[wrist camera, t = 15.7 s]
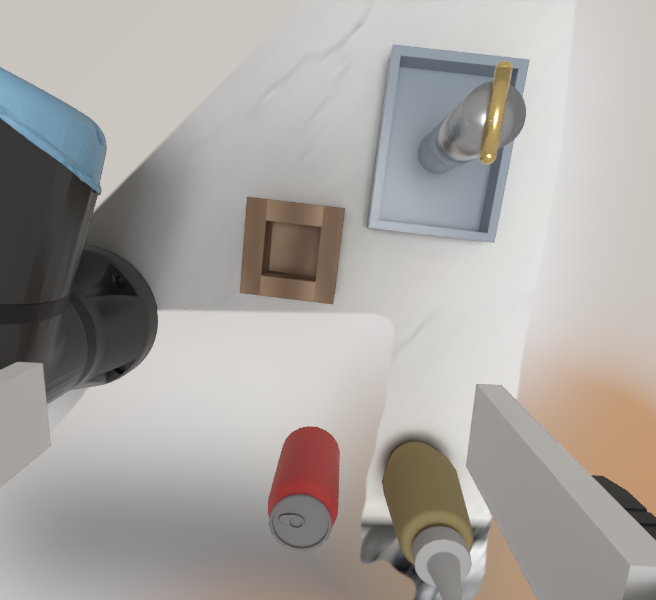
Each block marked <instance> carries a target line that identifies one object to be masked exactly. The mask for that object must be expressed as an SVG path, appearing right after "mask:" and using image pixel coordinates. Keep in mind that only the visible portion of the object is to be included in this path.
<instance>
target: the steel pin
mask: <svg viewBox="0 0 656 600" xmlns="http://www.w3.org/2000/svg"><path fill="white" fill-rule="evenodd" d="M511 75H512V64H511V63H510V62H509V61H506V60H505V61H501V62H499V63H498V64H497V66H496V67H495V71H494V77H493V81H490V82H486V83H483V84H481V85H479V86H478V87H476V88H475V89H474V90H473V91H472V92H471V93H470V94H469V95H468V96H467V97H466V98H465V99H464V100H463V101H462V102H461V103H460V104H458V105H457V106H456V107H455V108H454V109H453V110H452V111H451V112H450V113H449V114H448V115H447V116H446V117H445V118H444V119H443V120H442V121H441V122H440V123H439V124H438V125H437V126H436V127H435V128H434V129H433V130H432V131H431V132H430V133H429V134H428V135H427V136H426V137H425V138H424V139H423V141H422V142H421V144H420V146H419V150H418V157H419V161H420V163H421V165H422V167H423V168H424V169H425V170H427V171H428V172H430V173H433V174H442V173H445V172H448V171H450V170H452V169H454V168H457V167H459V166H461V165H463V164H465V163H468V162H470V161H472V160H474V159H477V158H479V159H480V161H481V162H482V163H483V164H486V165H488V164H491V163H493V162H494V161H495V159H496V155H497V150H498V149H499V148H501V147H503V146H505V145H507V144H509V143H510V142H512V141H513V140H514V139H515V138H516V137H517V136H518V134H519V133H520V131H521V129H522V127H523V125H524V122H525V116H526V108H525V103H524V100H523V98H522V96H521V94H520V93H519V91H518V90H517V89H516V88H515V87H513V86H512V85H510V80H511Z"/></svg>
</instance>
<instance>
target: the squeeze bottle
mask: <svg viewBox="0 0 656 600" xmlns="http://www.w3.org/2000/svg"><path fill="white" fill-rule="evenodd" d="M382 484H383V490H384V495H385V499H386V502H387V505H388V509H389V512H390V515H391V518H392V522H393V525H394V528H395V532H396V535H397V538H398V542H399V545H400V548H401V551H402V552H403V554H404V555H405V557H406V558H407V560H408V561H409V562H411V563H412V564H414V565H415V570H416V572H417V574H418V575H419V577H420V578H421V580H423V581H425V582H426V583H428V584H429V585H432V586H436V587H437V589H438V591H439V593H440V595H441V597H442V599H443V600H462V588H461V581H462V580H463V579H464V578H465V577H466V576H467V575H468V574H469V571H470V568H471V565H472V564H471V557H470V550H471V547H472V544H473V535H472V528H471V524H470V521H469V517H468V513H467V509H466V506H465V502H464V498H463V494H462V491H461V487H460V483H459V479H458V476H457V472H456V470H455V468H454V467H453V465H452V464H451V462H450V461H449V459H447V458H446V457H445V456H443V455H442V454H441V453H439V452H438V451H437V450H435V449H434V448H433V447H431V446H430V445H428V444H427V443H423V442H419V441H412V442H406V443H404V444H402V445H400V446H399V447H397V448H396V449H395V451H394V452H393V453H392V454H391V457H390V459H389V461H388V464H387V466H386V468H385V472H384V476H383V479H382Z"/></svg>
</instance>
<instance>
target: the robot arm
mask: <svg viewBox="0 0 656 600" xmlns="http://www.w3.org/2000/svg"><path fill="white" fill-rule="evenodd" d="M105 154H106V140H105V137H104V134H103V132H102V131H101V129H100V128H99V126H98V125H97V124H96V123H95V122H94V121H93V120H91V119H90V118H89V117H88V116H86V115H84V114H83V113H81V112H80V111H78V110H77V109H75V108H73V107H72V106H70V105H68V104H67V103H65V102H63V101H61V100H60V99H58V98H56V97H54V96H53V95H51V94H49V93H47V92H45V91H44V90H42V89H40V88H38V87H36V86H35V85H33V84H31V83H29V82H27V81H25V80H23V79H22V78H20V77H18V76H16V75H14V74H12V73H10V72H8V71H6V70H4V69H3V68H1V67H0V487H1V486H2V485H3V484H5V483H6V482H7V481H8V480H10V479H11V478H12V477H13V476H15V475H16V474H17V473H18V472H19V471H21V470H22V469H23V468H24V467H26V466H27V465H28V464H29V463H30V462H31V461H33V460H34V459H35V458H37V457H38V456H39V455H40V454H41V453H43V452H44V451H45V450H46V449H47V448H49V447H50V446H51V444H50V433H49V423H48V413H47V404H48V403H50V402H51V401H53V400H55V399H56V398H58V397H59V396H61V395H63V394H64V393H66V392H67V391H69V390H72V389H79V388H86V387H92V386H98V385H103V384H107V383H110V382H112V381H114V380H117V379H119V378H120V377H122V376H124V375H125V374H127V373H128V372H130V371H131V370H133V369H134V368H135V367H137V366H138V365H139V364H140V363H141V362H142V361H143V360H144V358H145V357H146V356H147V355H148V353H149V351H150V350H151V348H152V346H153V343H154V341H155V337H156V333H157V324H158V316H157V308H156V304H155V300H154V297H153V295H152V292H151V290H150V288H149V286H148V285H147V283H146V281H145V280H144V279H143V277H142V276H141V275H140V273H139V272H138V271H137V270H136V269H135V268H134V267H133V266H132V265H131V264H129V263H128V262H127V261H125V260H124V259H122V258H121V257H119V256H118V255H116V254H114V253H112V252H109V251H107V250H103V249H100V248H96V247H88V246H84V244H85V240H86V237H87V233H88V229H89V226H90V222H91V218H92V214H93V211H94V207H95V203H96V199H97V196H98V195H100V194H101V187H100V185H99V184H100V179H101V174H102V169H103V165H104V159H105ZM466 467H467V469H468V471H469V472H470V474H471V476H472V478H473V480H474V482H475V484H476V486H477V488H478V489H479V491H480V493H481V495H482V497H483V499H484V501H485V503H486V504H487V506H488V508H489V510H490V512H491V514H492V516H493V518H494V520H495V521H496V523H497V525H498V527H499V529H500V531H501V533H502V535H503V536H504V538H505V540H506V542H507V544H508V546H509V548H510V550H511V552H512V553H513V555H514V557H515V559H516V561H517V563H518V565H519V566H520V568H521V570H522V572H523V574H524V576H525V578H526V580H527V582H528V584H529V585H530V587H531V589H532V591H533V593H534V595H535V596H536V599H537V600H656V517H655V516H654V515H652V514H651V513H648V512H647V509H646V508H645V507H644V506H643V505H642V504H640V502H638V500H636V499H635V498H634V497H633V496H632V495H631V494H630V493H629V492H628V491H626V490H625V489H623V488H622V487H620V486H618V485H617V484H615V483H613V482H612V481H610V480H608V479H607V478H605V477H603V476H592V475H590V474H589V473H588V472H587V471H586V470H585V469H584V468H583V467H582V466H581V465H580V464H579V463H578V462H577V461H576V460H575V459H574V458H573V457H572V456H571V455H570V454H569V453H568V452H567V451H566V450H565V449H564V448H563V447H562V446H561V445H560V444H559V443H558V441H557V440H556V439H554V437H553V436H551V434H550V433H548V431H547V430H546V429H545V428H544V427H543V426H542V425H541V424H539V422H538V421H537V420H536V419H534V417H533V416H532V415H531V414H530V413H529V412H528V411H527V410H526V409H525V408H524V407H523V406H522V405H521V404H520V403H519V402H518V401H517V400H516V399H515V398H514V397H513V396H512V395H511V394H510V393H509V392H508V391H507V390H506V389H505V388H504V387H503V386H502V385H487V384H476V391H475V399H474V407H473V415H472V422H471V430H470V438H469V446H468V454H467V462H466Z"/></svg>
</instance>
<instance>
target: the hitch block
mask: <svg viewBox="0 0 656 600" xmlns="http://www.w3.org/2000/svg"><path fill="white" fill-rule="evenodd" d="M344 211H345V208H337V207H329V206H320V205H312V204H303V203H295V202H286V201H278V200H269V199H261V198H252V197H247V205H246V219H245V232H244V245H243V258H242V272H241V285H240V293H245V294H253V295H261V296H270V297H278V298H286V299H294V300H303V301H311V302H319V303H327V304H333V301H334V294H335V286H336V277H337V269H338V261H339V252H340V244H341V236H342V228H343V219H344Z"/></svg>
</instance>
